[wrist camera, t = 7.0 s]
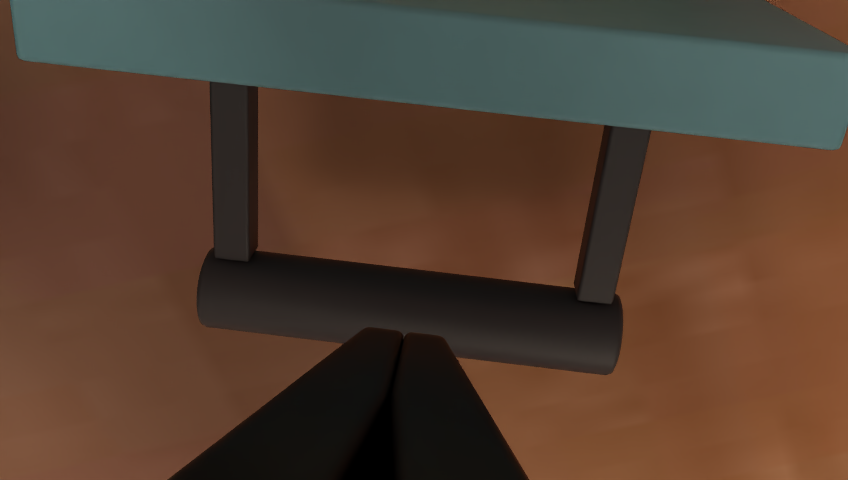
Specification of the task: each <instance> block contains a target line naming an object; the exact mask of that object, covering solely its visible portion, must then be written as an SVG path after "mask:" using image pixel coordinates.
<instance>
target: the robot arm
mask: <svg viewBox="0 0 848 480" xmlns="http://www.w3.org/2000/svg"><path fill="white" fill-rule="evenodd" d="M168 480H529V479H528V477H527V475H526V474H525V472H524V470H523V469H522V467H521V465H520V464H519V462H518V460H517V459H516V457H515V455H514V454H513V452H512V450H511V449H510V447H509V445H508V444H507V442H506V440H505V439H504V437H503V435H502V434H501V432H500V430H499V429H498V427H497V425H496V424H495V422H494V420H493V419H492V417H491V415H490V414H489V412H488V410H487V409H486V407H485V405H484V404H483V402H482V400H481V399H480V397H479V395H478V394H477V392H476V390H475V389H474V387H473V385H472V384H471V382H470V380H469V379H468V377H467V375H466V374H465V372H464V370H463V369H462V367H461V365H460V364H459V362H458V360H457V359H456V357H455V355H454V354H453V352H452V350H451V349H450V347H449V345H448V343H447V342H446V340H445V339H444V338H443V337H442V336H439V335H430V334H422V333H414V332H410V333H407V334H406V335H405V336H404V338H403V334H402V333H401V332H400V331H397V330H390V329H382V328H374V327H366V328H364V329H362V330H361V331H360V332H358V333H357V334H356V335H355V336H353V337H352V338H351V339H349V340H348V341H347V342H345V343H344V344H343V345H342V346H340V347H339V348H338V349H336V350H335V351H334V352H333V353H331V354H330V355H329V356H327V357H326V358H325V359H323V360H322V361H321V362H320V363H318V364H317V365H316V366H314V367H313V368H312V369H310V370H309V371H308V372H307V373H305V374H304V375H303V376H301V377H300V378H299V379H297V380H296V381H295V382H294V383H292V384H291V385H290V386H288V387H287V388H286V389H285V390H283V391H282V392H281V393H279V394H278V395H277V396H275V397H274V398H273V399H272V400H270V401H269V402H268V403H266V404H265V405H264V406H262V407H261V408H260V409H259V410H257V411H256V412H255V413H253V414H252V415H251V416H250V417H248V418H247V419H246V420H244V421H243V422H242V423H240V424H239V425H238V426H237V427H235V428H234V429H233V430H231V431H230V432H229V433H227V434H226V435H225V436H224V437H222V438H221V439H220V440H218V441H217V442H216V443H215V444H213V445H212V446H211V447H209V448H208V449H207V450H205V451H204V452H203V453H202V454H200V455H199V456H198V457H196V458H195V459H194V460H192V461H191V462H190V463H189V464H187V465H186V466H185V467H183V468H182V469H181V470H179V471H178V472H177V473H176V474H174V475H173V476H172V477H170V478H169V479H168Z"/></svg>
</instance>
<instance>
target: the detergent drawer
mask: <svg viewBox="0 0 848 480" xmlns="http://www.w3.org/2000/svg"><path fill="white" fill-rule="evenodd" d="M10 6H11V14H12V22H13V29H14V37H15V45H16V52H17V56H18V58H19V59H21V60H24V61H31V62H40V63H49V64H58V65H67V66H76V67H85V68H94V69H103V70H112V71H121V72H130V73H139V74H148V75H157V76H166V77H175V78H184V79H193V80H202V81H210V115H211V153H212V191H213V229H214V248H212V249H211V250H210V251H209V252H208V254H207V256H206V258H205V260H204V262H203V265H202V268H201V271H200V275H199V280H198V287H197V312H198V317H199V320H200V322H201V324H203V325H204V326H206V327H212V328H220V329H228V330H236V331H245V332H253V333H261V334H269V335H278V336H286V337H294V338H302V339H311V340H319V341H327V342H335V343H345V342H347V341H348V340H349V339H351V338H352V337H353V336H355V335H356V334H357V333H358V332H360V331H361V330H362V329H364V328H366V327H374V328H382V329H390V330H397V331H400V332H401V333H402V334H403V338H404V336H405V335H406V334H407V333H410V332H414V333H422V334H430V335H439V336H442V337H443V338H444V339H445V340H446V342H447V343H448V345H449V347H450V349H451V350H452V352H453V354H454V355H455V357H459V358H468V359H476V360H484V361H492V362H501V363H509V364H517V365H526V366H534V367H542V368H550V369H559V370H567V371H575V372H583V373H592V374H600V375H608V374H611V373H612V372H613V370H614V368H615V366H616V364H617V361H618V358H619V354H620V349H621V343H622V334H623V309H622V304H621V300H620V297H619V296H618V295H617V294H615V291H616V286H617V282H618V277H619V273H620V268H621V264H622V259H623V255H624V250H625V246H626V242H627V237H628V233H629V228H630V224H631V219H632V215H633V210H634V206H635V201H636V197H637V192H638V188H639V183H640V179H641V174H642V170H643V165H644V161H645V156H646V152H647V147H648V143H649V138H650V134H651V130H653V131H662V132H671V133H680V134H689V135H698V136H707V137H716V138H725V139H734V140H744V141H753V142H762V143H771V144H780V145H789V146H798V147H807V148H816V149H825V150H836V149H839V148H840V146H841V145H842V142H843V138H844V135H845V132H846V129H847V126H848V45H846V44H844V43H842V42H841V41H839V40H837V39H835V38H833V37H831V36H829V35H828V34H826V33H824V32H822V31H820V30H818V29H817V28H815V27H813V26H811V25H809V24H807V23H805V22H804V21H802V20H800V19H798V18H796V17H794V16H793V15H791V14H789V13H787V12H785V11H783V10H781V9H780V8H778V7H776V6H774V5H772V4H770V3H769V2H767V1H765V0H10ZM258 87H265V88H274V89H283V90H292V91H301V92H310V93H319V94H328V95H337V96H346V97H356V98H365V99H374V100H383V101H392V102H401V103H410V104H419V105H428V106H437V107H446V108H455V109H464V110H473V111H482V112H491V113H500V114H509V115H518V116H527V117H536V118H545V119H554V120H563V121H572V122H581V123H590V124H599V125H605V126H604V131H603V136H602V141H601V147H600V152H599V157H598V162H597V167H596V172H595V177H594V182H593V188H592V193H591V198H590V203H589V208H588V213H587V218H586V223H585V228H584V234H583V239H582V244H581V249H580V254H579V259H578V264H577V269H576V274H575V280H574V287H575V288H570V287H561V286H553V285H544V284H536V283H527V282H519V281H510V280H502V279H493V278H485V277H476V276H468V275H459V274H451V273H442V272H434V271H425V270H417V269H408V268H400V267H391V266H383V265H374V264H366V263H357V262H349V261H340V260H332V259H323V258H315V257H306V256H297V255H289V254H280V253H272V252H263V251H255V250H256V249H257V247H258Z"/></svg>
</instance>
